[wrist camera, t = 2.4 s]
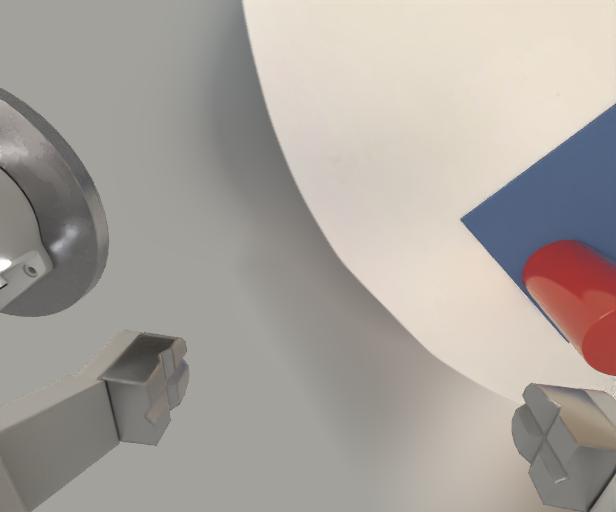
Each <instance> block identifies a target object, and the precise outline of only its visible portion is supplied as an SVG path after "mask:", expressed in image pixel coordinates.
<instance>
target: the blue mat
mask: <svg viewBox="0 0 616 512" xmlns="http://www.w3.org/2000/svg"><path fill="white" fill-rule="evenodd" d="M460 220H461V221H462V222H463V223H464V225H465V226H466V227H467V228H468V229H469V230H470V231H471V233H472V234H473V235H474V236H475V237H476V238H477V239H478V241H479V242H480V243H481V244H482V245H483V246H484V247H485V249H486V250H487V251H488V252H489V253H490V254H491V255H492V257H493V258H494V259H495V260H496V261H497V262H498V263H499V264H500V266H501V267H502V268H503V269H504V270H505V271H506V272H507V274H508V275H509V276H510V277H511V278H512V279H513V280H514V282H515V283H516V284H517V285H518V286H519V287H520V288H521V290H522V291H523V292H524V293H525V294H526V295H527V296H528V298H529V299H530V300H531V301H532V302H533V303H534V304H535V306H536V307H537V308H538V309H539V310H540V311H541V312H542V314H543V315H544V316H545V317H546V318H547V319H548V320H549V322H550V323H551V324H552V325H553V326H554V327H555V328H556V330H557V331H558V332H559V333H560V334H561V335H562V336H563V338H564V339H565V340H566V341H567V342H568V343H569V340H568V339H567V338H566V337H565V336H564V334H563V333H562V332H561V331H560V330H559V329H558V327H557V326H556V325H555V324H554V323H553V321H552V320H551V319H550V318H549V317H548V315H547V314H546V313H545V312H544V311H543V309H542V308H541V307H540V306H539V305H538V303H537V302H536V301H535V300H534V299H533V297H532V296H531V295H530V294H529V293H528V291H527V290H526V289H525V287H524V285H523V282H522V272H523V268H524V266H525V264H526V262H527V260H528V259H529V258H530V257H531V256H532V254H534V253H535V252H536V251H537V250H539V249H540V248H542V247H543V246H545V245H548V244H550V243H553V242H556V241H561V240H576V241H581V242H583V243H586V244H587V245H589V246H591V247H592V248H594V249H595V250H597V251H598V252H600V253H601V254H602V255H604V256H605V257H607V258H608V259H610V260H611V261H613V262H614V263H616V104H615V105H614V106H612V107H611V108H610V109H608V110H607V111H606V112H604V113H603V114H602V115H600V116H599V117H598V118H596V119H595V120H593V121H592V122H591V123H589V124H588V125H587V126H585V127H584V128H583V129H581V130H580V131H579V132H577V133H576V134H575V135H573V136H572V137H571V138H569V139H568V140H567V141H565V142H564V143H562V144H561V145H560V146H558V147H557V148H556V149H554V150H553V151H552V152H550V153H549V154H548V155H546V156H545V157H544V158H542V159H541V160H540V161H538V162H537V163H536V164H534V165H533V166H531V167H530V168H529V169H527V170H526V171H525V172H523V173H522V174H521V175H519V176H518V177H517V178H515V179H514V180H513V181H511V182H510V183H509V184H507V185H506V186H505V187H503V188H502V189H500V190H499V191H498V192H496V193H495V194H494V195H492V196H491V197H490V198H488V199H487V200H486V201H484V202H483V203H482V204H480V205H479V206H478V207H476V208H475V209H474V210H472V211H471V212H470V213H468V214H467V215H465V216H464V217H463V218H461V219H460Z"/></svg>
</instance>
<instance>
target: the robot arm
mask: <svg viewBox="0 0 616 512" xmlns="http://www.w3.org/2000/svg"><path fill="white" fill-rule="evenodd" d="M52 269H53V263H52V261H51V258H50V256H49V255H48V253H47V251H46V249H45V248H44V246H43V244H42V241H41V237H40V232H39V227H38V223H37V219H36V217H35V214H34V212H33V209H32V207H31V205H30V203H29V202H28V200H27V198H26V197H25V195H24V194H23V192H22V191H21V190H20V188H19V187H18V186H17V185H16V183H15V182H14V181H13V180H12V179H11V178H10V177H9V176H8V175H7V174H6V173H5V172H4V171H3V170H2V169H0V311H1V310H3V309H4V308H5V307H6V306H8V305H9V304H10V303H11V302H13V301H14V300H15V299H17V298H18V297H19V296H20V295H22V294H23V293H24V292H25V291H27V290H28V289H29V288H30V287H32V286H33V285H34V284H36V283H37V282H38V281H39V280H41V279H42V278H43V277H44V276H46V275H47V274H48V273H49V272H51V271H52ZM186 352H187V347H186V341H185V340H184V339H183V338H178V337H171V336H165V335H159V334H152V333H145V332H144V333H142V332H136V331H130V330H123V331H120V332H118V333H117V334H116V335H115V336H114V337H113V338H112V339H111V340H110V341H109V342H108V343H107V344H106V345H105V346H104V347H103V348H102V349H101V350H100V351H99V352H98V353H97V354H96V355H95V356H94V357H93V359H92V360H90V361H89V362H88V363H87V364H86V366H85V367H83V368H82V370H80V371H79V373H78V374H77V375H76V376H66V377H64V378H62V379H59V380H57V381H55V382H53V383H51V384H48V385H46V386H44V387H42V388H39V389H37V390H35V391H33V392H31V393H28V394H26V395H24V396H22V397H19V398H17V399H15V400H13V401H10V402H8V403H6V404H4V405H2V406H0V512H31V511H32V510H34V509H35V508H36V507H38V506H39V505H40V504H42V503H43V502H44V501H45V500H47V499H48V498H49V497H51V496H52V495H53V494H55V493H56V492H57V491H59V490H60V489H61V488H62V487H64V486H65V485H66V484H68V483H69V482H70V481H71V480H73V479H74V478H75V477H77V476H78V475H79V474H81V473H82V472H83V471H85V470H86V469H87V468H88V467H90V466H91V465H92V464H94V463H95V462H96V461H98V460H99V459H100V458H101V457H103V456H104V455H105V454H107V453H108V452H109V451H110V450H112V449H113V448H114V447H116V446H117V445H118V444H119V443H120V442H119V441H122V442H130V443H139V444H147V445H155V446H157V444H158V442H159V440H160V439H161V437H162V435H163V433H164V431H165V430H166V428H167V426H168V424H169V422H170V421H171V418H170V410H172V409H173V408H175V407H176V406H178V405H180V403H181V401H182V399H183V397H184V395H185V392H186V389H187V386H188V382H189V366H188V364H187V363H186V362H185V361H184V360H183V357H184V356H185V354H186ZM522 396H523V398H524V400H525V402H526V404H524V405H522V406H521V407H520V408H518V409H516V411H515V413H514V416H513V418H512V436H513V440H514V443H515V445H516V447H517V450H518V452H519V454H521V455H522V456H523V457H524V458H525V459H526V460H527V461H528V462H529V463H531V465H530V469H529V472H528V473H529V475H530V477H531V479H532V482H533V483H534V486H535V488H536V490H537V492H538V494H539V496H540V498H541V500H542V502H543V504H544V505H547V506H553V507H559V508H564V509H570V510H575V511H581V512H616V401H615V399H614V398H613V397H612V396H611V395H609V394H607V393H606V392H604V391H598V390H589V389H580V388H579V389H575V388H568V387H560V386H552V385H543V384H535V383H531V384H530V385H528V386H527V387H526V389H525V391H524V393H523V395H522Z"/></svg>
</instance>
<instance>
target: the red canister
mask: <svg viewBox="0 0 616 512" xmlns="http://www.w3.org/2000/svg"><path fill="white" fill-rule="evenodd" d="M522 282H523V285H524V287H525V289H526V290H527V291H528V293H529V294H530V295H531V296H532V297H533V299H534V300H535V301H536V302H537V303H538V305H539V306H540V307H541V308H542V309H543V311H544V312H545V313H546V314H547V315H548V317H549V318H550V319H551V320H552V321H553V323H554V324H555V325H556V326H557V327H558V329H559V330H560V331H561V332H562V333H563V334H564V336H565V337H566V338H567V339H568V340H569V342H570V343H571V344H572V345H573V346H574V348H575V349H576V350H577V351H578V352H579V354H580V355H581V356H582V357H583V358H584V360H585V361H586V362H587V363H588V364H589V365H590V366H591V367H592V368H594V369H595V370H597V371H599V372H602V373H605V374H608V375H613V376H616V263H614V262H613V261H611V260H610V259H608V258H607V257H605V256H604V255H602V254H601V253H600V252H598V251H597V250H595V249H594V248H592V247H591V246H589V245H587V244H586V243H583V242H581V241H576V240H561V241H556V242H553V243H550V244H548V245H545V246H543V247H542V248H540V249H539V250H537V251H536V252H535V253H534V254H532V256H531V257H530V258H529V259H528V260H527V262H526V264H525V266H524V268H523V272H522Z"/></svg>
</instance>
